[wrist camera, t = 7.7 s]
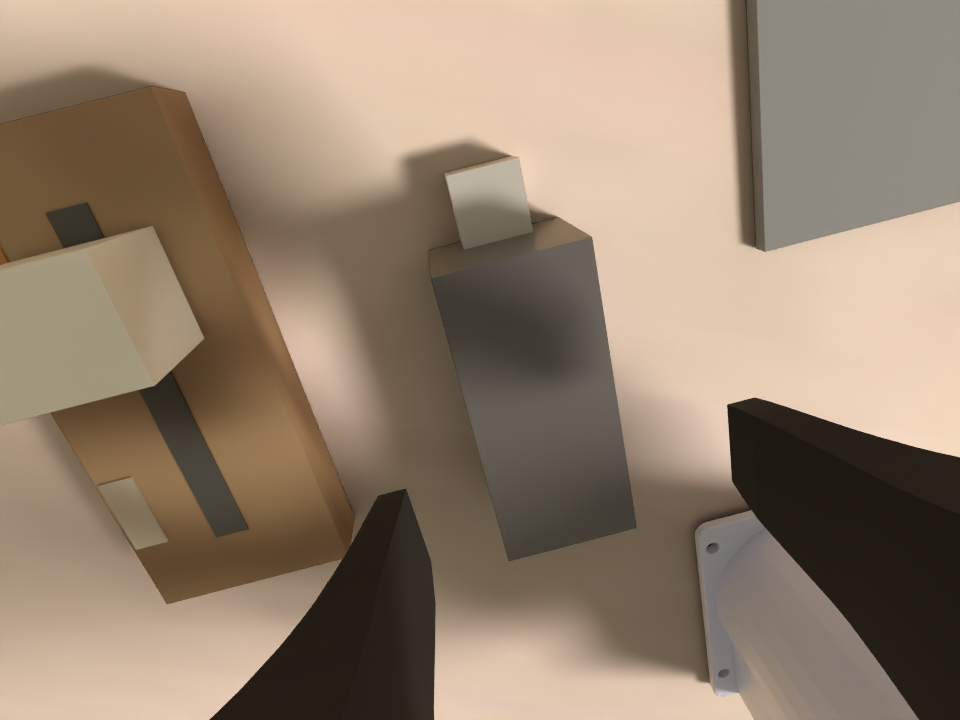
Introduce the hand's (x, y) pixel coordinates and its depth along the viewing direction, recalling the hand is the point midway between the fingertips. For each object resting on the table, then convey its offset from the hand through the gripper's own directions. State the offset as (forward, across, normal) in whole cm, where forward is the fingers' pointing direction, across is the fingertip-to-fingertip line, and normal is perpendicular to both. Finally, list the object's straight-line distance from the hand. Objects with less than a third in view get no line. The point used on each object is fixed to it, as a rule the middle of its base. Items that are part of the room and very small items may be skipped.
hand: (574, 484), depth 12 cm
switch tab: (+4, +10, -6) cm, 12 cm away
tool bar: (+7, 0, 0) cm, 7 cm away
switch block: (+7, +10, -3) cm, 12 cm away
